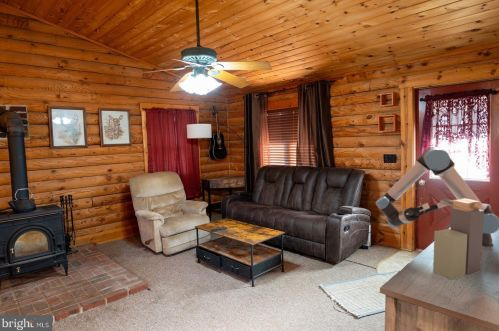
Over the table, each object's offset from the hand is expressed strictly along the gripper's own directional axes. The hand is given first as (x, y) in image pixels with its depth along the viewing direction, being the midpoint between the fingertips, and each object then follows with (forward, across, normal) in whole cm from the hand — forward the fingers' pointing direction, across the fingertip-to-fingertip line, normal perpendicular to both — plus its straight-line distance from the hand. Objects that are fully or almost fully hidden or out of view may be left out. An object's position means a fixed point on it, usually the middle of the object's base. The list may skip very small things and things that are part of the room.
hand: (438, 203), depth 166 cm
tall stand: (-2, -1, -33) cm, 33 cm away
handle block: (+9, -1, -4) cm, 10 cm away
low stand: (-2, +10, -33) cm, 34 cm away
